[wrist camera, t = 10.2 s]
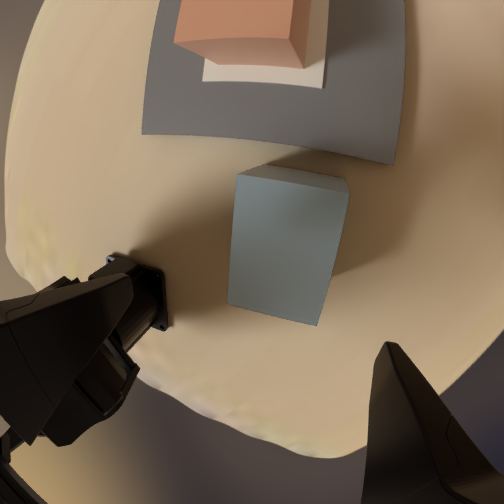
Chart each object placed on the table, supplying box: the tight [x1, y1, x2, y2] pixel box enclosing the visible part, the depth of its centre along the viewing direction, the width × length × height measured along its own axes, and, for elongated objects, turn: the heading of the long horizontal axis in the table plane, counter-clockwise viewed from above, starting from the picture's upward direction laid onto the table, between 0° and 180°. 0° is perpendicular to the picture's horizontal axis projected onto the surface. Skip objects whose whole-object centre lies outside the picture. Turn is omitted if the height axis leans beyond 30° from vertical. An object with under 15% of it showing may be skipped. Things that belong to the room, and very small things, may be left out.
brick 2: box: [227, 164, 350, 326], centre depth 15 cm, size 7×5×5 cm
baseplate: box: [142, 0, 405, 166], centre depth 12 cm, size 16×16×1 cm
